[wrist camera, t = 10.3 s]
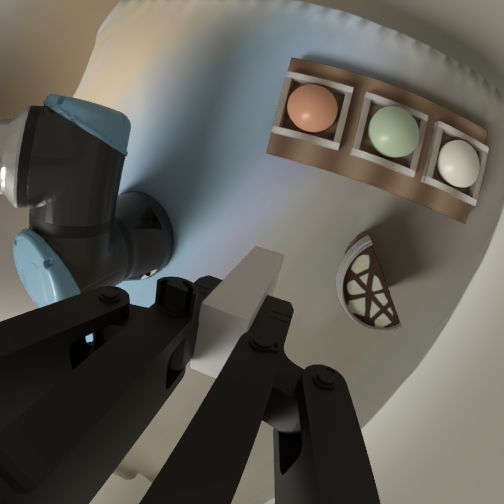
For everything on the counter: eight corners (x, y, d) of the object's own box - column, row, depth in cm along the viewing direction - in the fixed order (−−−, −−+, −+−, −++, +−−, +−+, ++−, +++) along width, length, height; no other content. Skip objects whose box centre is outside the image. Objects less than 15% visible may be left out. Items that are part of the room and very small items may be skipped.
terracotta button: (284, 126, 34) (282, 123, 31) (295, 85, 32) (293, 79, 29) (330, 139, 33) (331, 136, 30) (341, 96, 31) (342, 91, 28)
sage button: (362, 147, 31) (365, 146, 28) (373, 103, 29) (376, 98, 26) (407, 164, 30) (413, 164, 27) (417, 120, 28) (423, 117, 25)
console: (270, 154, 38) (263, 152, 34) (294, 65, 33) (289, 52, 29) (456, 220, 33) (470, 226, 29) (478, 133, 29) (493, 130, 24)
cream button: (430, 176, 30) (437, 176, 28) (440, 134, 28) (447, 132, 26) (465, 192, 29) (473, 194, 27) (475, 152, 27) (483, 151, 25)
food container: (321, 239, 40) (319, 261, 30) (360, 222, 37) (370, 238, 28) (352, 311, 41) (357, 348, 32) (389, 296, 39) (403, 330, 30)
